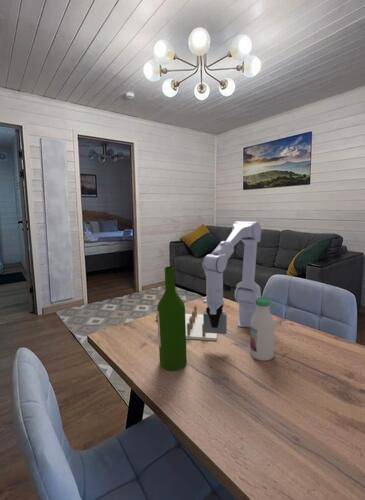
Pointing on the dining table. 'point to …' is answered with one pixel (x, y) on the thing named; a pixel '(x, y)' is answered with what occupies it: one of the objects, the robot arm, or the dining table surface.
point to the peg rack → (197, 327)
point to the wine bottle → (171, 326)
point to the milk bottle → (262, 331)
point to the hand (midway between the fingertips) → (215, 325)
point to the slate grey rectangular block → (221, 326)
